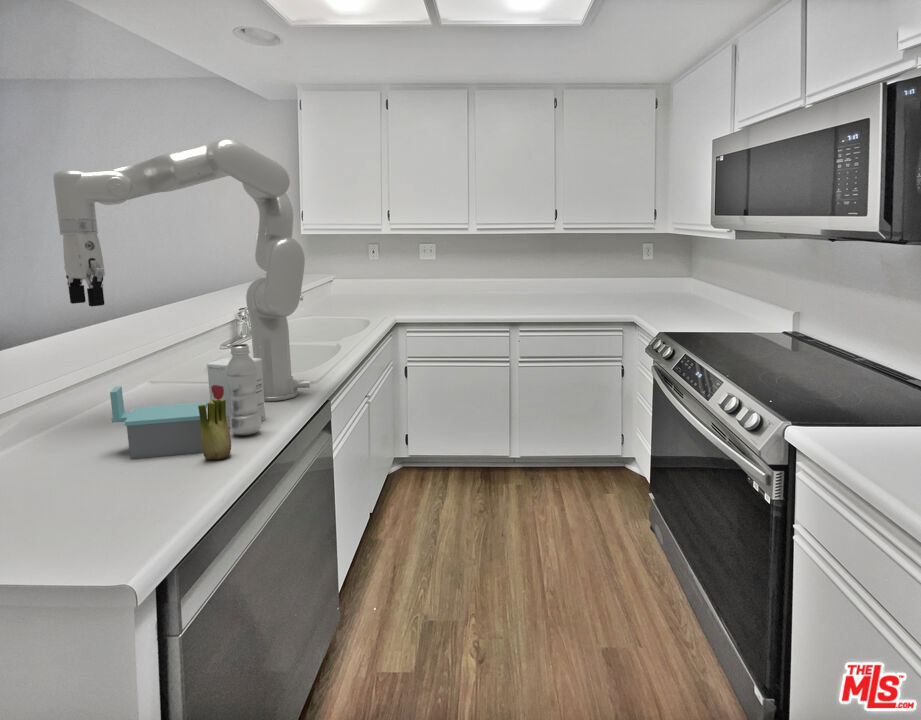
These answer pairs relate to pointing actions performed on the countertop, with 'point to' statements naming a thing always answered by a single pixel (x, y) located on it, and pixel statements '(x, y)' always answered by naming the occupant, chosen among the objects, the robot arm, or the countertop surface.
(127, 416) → the lid
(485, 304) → the countertop surface
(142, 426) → the tub
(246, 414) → the plastic bottle
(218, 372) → the supplement box
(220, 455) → the fennel bulb
